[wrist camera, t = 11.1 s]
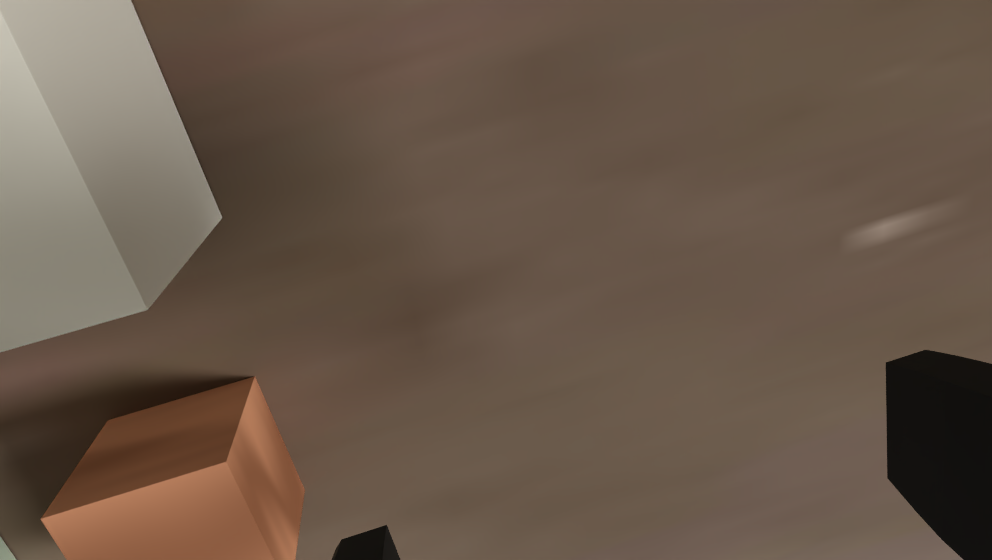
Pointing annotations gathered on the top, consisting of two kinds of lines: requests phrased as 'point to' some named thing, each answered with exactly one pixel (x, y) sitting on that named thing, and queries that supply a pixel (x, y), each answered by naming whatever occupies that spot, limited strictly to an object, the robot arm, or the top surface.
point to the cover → (89, 170)
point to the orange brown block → (184, 484)
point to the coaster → (5, 552)
